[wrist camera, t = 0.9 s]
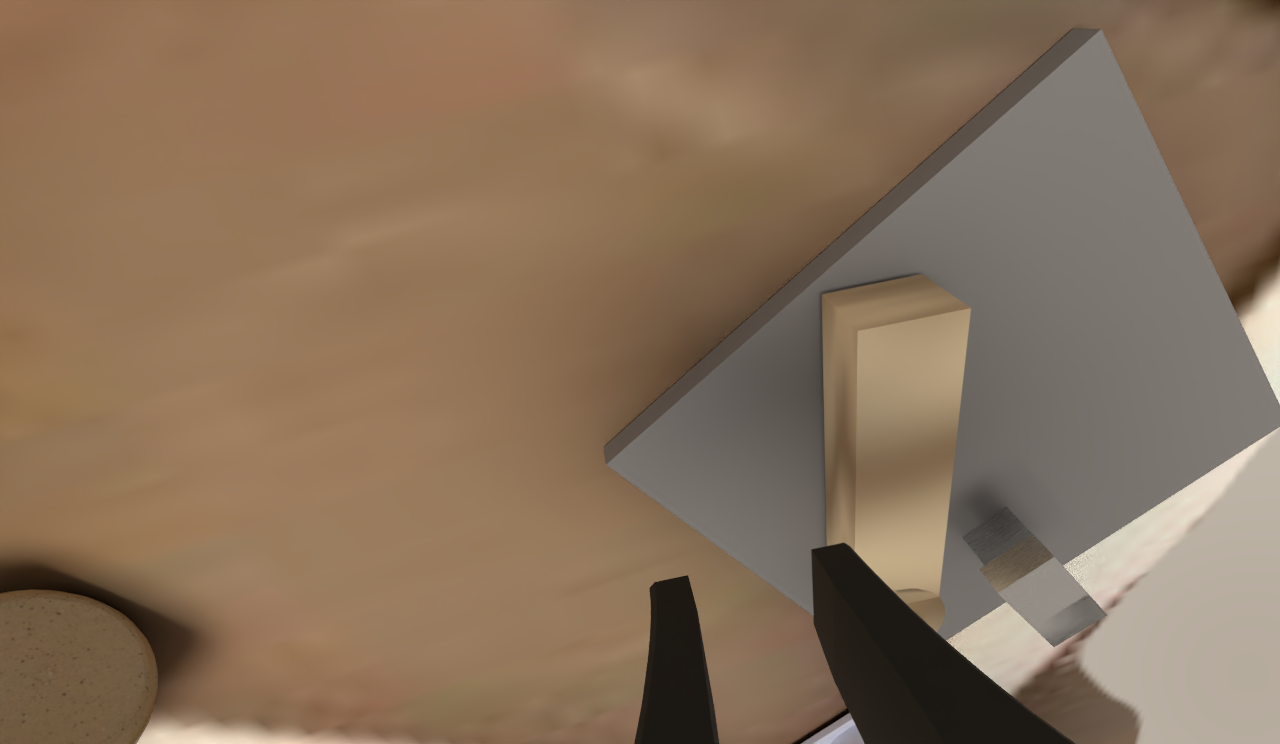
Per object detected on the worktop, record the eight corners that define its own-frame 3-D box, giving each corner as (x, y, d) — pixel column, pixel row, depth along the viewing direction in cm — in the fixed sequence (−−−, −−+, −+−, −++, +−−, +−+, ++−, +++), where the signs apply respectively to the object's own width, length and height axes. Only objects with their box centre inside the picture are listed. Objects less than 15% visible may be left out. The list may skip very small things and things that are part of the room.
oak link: (907, 593, 25) (959, 676, 22) (820, 611, 25) (859, 697, 22) (931, 272, 18) (1011, 325, 15) (811, 296, 18) (866, 354, 15)
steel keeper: (1025, 526, 25) (1106, 615, 21) (981, 556, 25) (1053, 646, 22) (974, 471, 23) (1054, 556, 19) (928, 504, 23) (997, 593, 20)
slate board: (1261, 407, 24) (1287, 421, 24) (883, 654, 29) (892, 674, 28) (1073, 28, 17) (1101, 29, 16) (603, 446, 22) (605, 464, 21)
